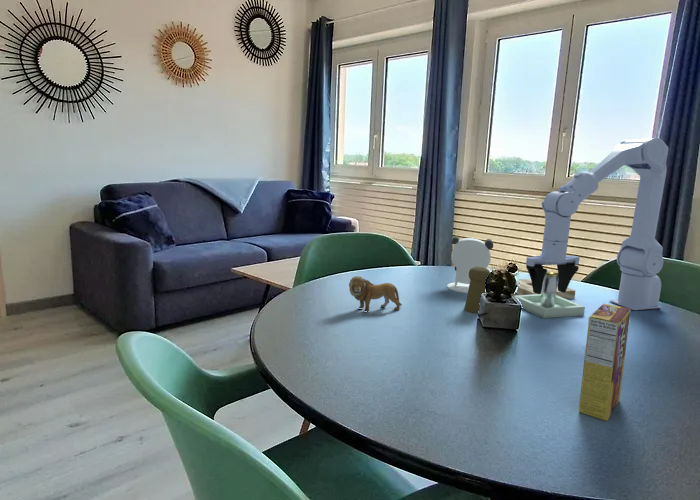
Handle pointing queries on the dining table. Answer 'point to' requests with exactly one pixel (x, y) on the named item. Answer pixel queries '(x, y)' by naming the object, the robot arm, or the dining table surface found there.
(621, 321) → the candy box
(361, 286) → the lion figurine
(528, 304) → the sage tray
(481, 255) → the panda figurine
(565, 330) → the dining table surface
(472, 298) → the cork
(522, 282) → the hitch block
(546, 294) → the steel pin
